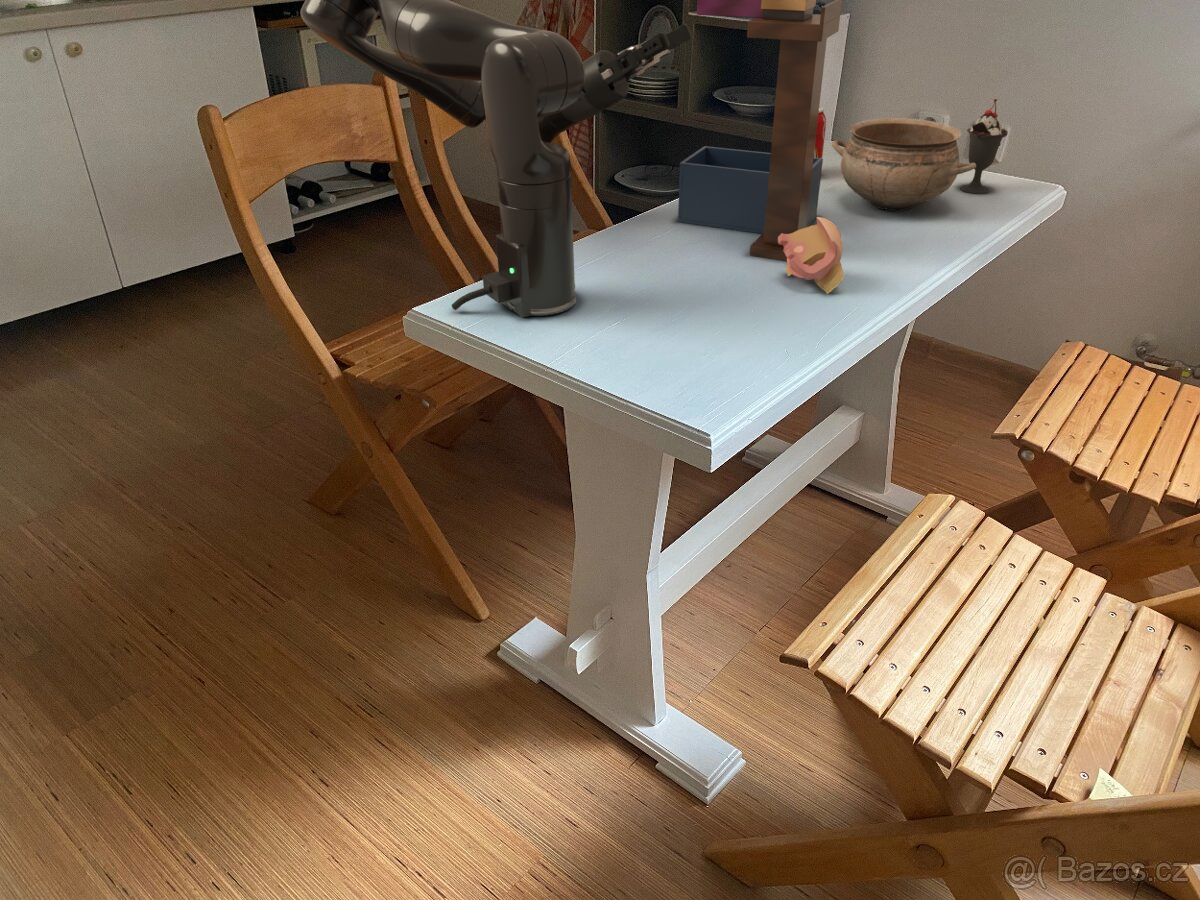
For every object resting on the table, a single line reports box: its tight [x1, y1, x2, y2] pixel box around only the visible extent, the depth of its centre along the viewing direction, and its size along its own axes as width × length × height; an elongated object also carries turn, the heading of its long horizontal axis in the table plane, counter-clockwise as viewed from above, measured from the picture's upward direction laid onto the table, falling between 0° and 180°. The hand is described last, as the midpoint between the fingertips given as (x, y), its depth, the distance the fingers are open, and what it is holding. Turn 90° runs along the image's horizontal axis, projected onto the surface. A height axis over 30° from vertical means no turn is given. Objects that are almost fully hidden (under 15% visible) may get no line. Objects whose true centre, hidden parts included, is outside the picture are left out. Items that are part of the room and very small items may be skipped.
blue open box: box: [677, 145, 824, 235], centre depth 145 cm, size 20×11×10 cm, turn 64°
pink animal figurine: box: [778, 216, 845, 295], centre depth 123 cm, size 9×10×10 cm
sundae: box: [959, 98, 1009, 195], centre depth 155 cm, size 7×7×15 cm
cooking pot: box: [831, 117, 976, 211], centre depth 150 cm, size 25×19×12 cm
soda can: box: [814, 105, 827, 158], centre depth 165 cm, size 7×7×12 cm
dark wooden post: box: [746, 0, 843, 262], centre depth 127 cm, size 10×9×34 cm
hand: (677, 34), depth 126 cm, fingers open, 8 cm apart
